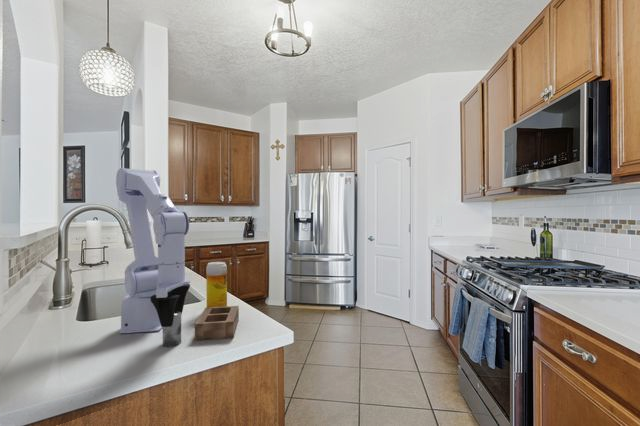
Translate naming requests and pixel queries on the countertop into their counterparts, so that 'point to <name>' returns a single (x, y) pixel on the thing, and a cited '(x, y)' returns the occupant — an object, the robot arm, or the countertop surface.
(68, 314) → the countertop surface
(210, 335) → the socket block
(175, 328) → the peg
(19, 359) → the countertop surface
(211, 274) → the beer glass
